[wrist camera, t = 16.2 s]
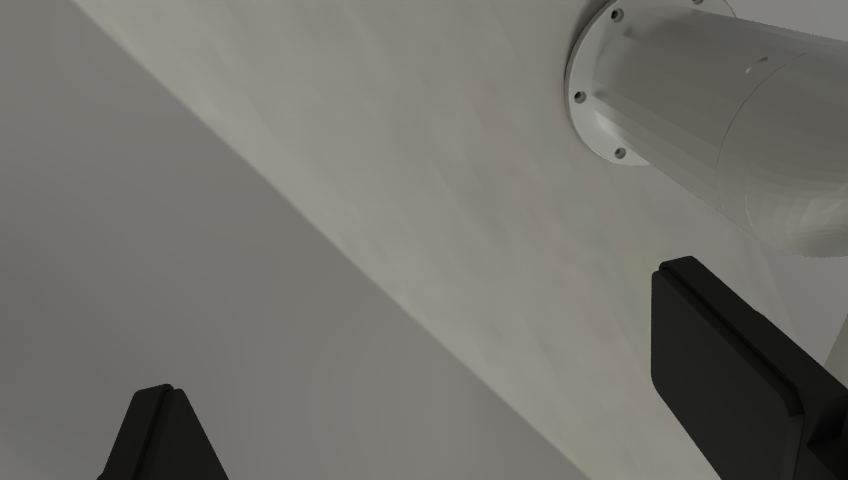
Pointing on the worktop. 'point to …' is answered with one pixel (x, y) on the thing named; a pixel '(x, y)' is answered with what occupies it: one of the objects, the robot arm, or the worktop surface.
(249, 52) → the worktop surface
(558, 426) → the worktop surface
